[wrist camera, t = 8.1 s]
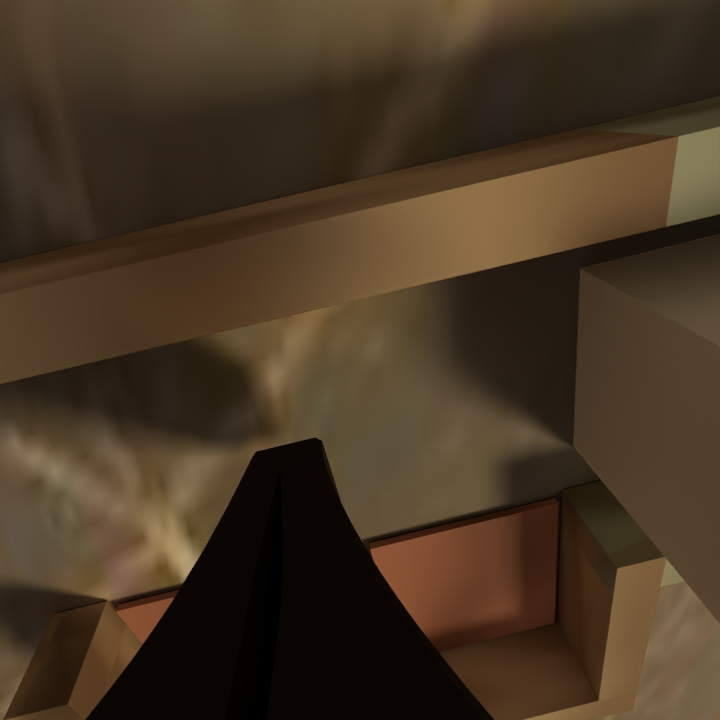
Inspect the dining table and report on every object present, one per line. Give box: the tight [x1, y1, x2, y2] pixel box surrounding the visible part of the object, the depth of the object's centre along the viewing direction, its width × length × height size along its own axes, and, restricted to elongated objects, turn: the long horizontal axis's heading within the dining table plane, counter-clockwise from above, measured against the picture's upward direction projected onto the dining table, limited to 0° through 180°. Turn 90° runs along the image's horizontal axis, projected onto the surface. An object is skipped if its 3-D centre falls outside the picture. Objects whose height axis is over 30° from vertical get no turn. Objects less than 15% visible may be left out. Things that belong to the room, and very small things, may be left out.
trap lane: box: [0, 96, 720, 720], centre depth 11 cm, size 21×17×3 cm
